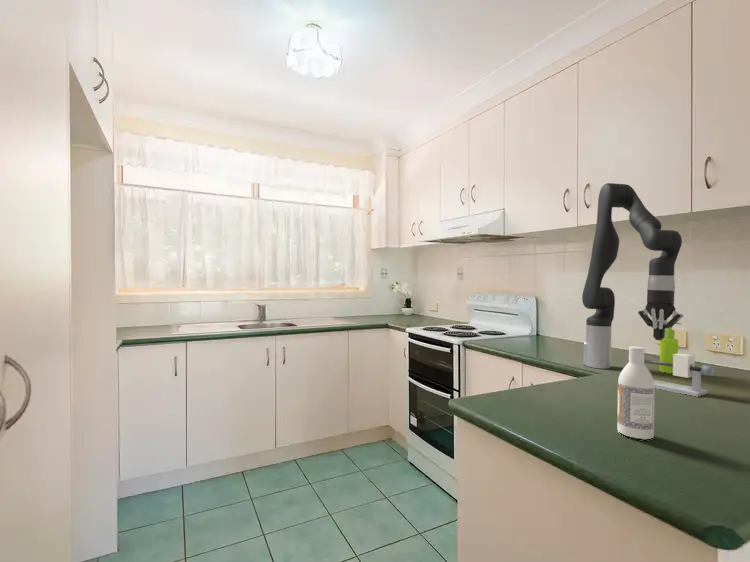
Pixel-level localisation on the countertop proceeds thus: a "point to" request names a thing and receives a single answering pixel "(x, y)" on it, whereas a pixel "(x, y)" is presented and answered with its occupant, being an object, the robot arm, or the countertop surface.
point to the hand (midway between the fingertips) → (658, 339)
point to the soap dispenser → (668, 349)
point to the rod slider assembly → (682, 389)
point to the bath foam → (636, 397)
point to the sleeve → (683, 364)
